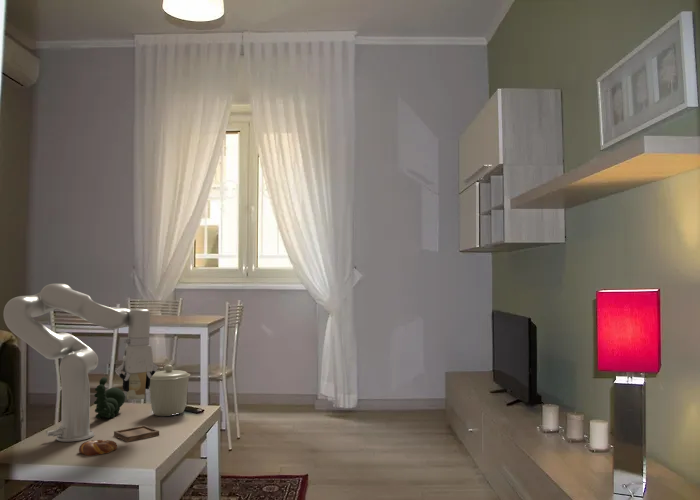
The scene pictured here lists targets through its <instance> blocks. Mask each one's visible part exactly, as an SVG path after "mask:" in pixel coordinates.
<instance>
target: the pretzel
mask: <svg viewBox="0 0 700 500" xmlns="http://www.w3.org/2000/svg"><path fill="white" fill-rule="evenodd" d="M117 448H118V445H117V442H115V441H114V440H110V439H106V440H105V439H97V440H95V439H94V440H88V441H85V442H82V443H81V444H80V446H79V448H78V452H79V454H80V455H83V456H87V457H89V456H90V457H92V456H98V455H103V454H109V453H111V452H114V451H116V450H117Z"/></svg>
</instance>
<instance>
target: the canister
mask: <svg viewBox="0 0 700 500" xmlns="http://www.w3.org/2000/svg"><path fill="white" fill-rule="evenodd" d="M190 377H191V373H188V372H187V371H185V370H180V369H178V370H176V369H175V370H174V367H173V365H171V364H166V365H165V366H164V370H161V371H156V372H155V373H154V375H153V376H152V377H151V378H150V386H149V389H148V390H149V397H150V404H151V411H152V413H153V414H154V415H155V416H158V417H170V416H169V415H172V414H176V413H181V414H182V413H183V412H184V411H185V409H186V405H187V399H188V398H187V397H188V389H189V379H190Z"/></svg>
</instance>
